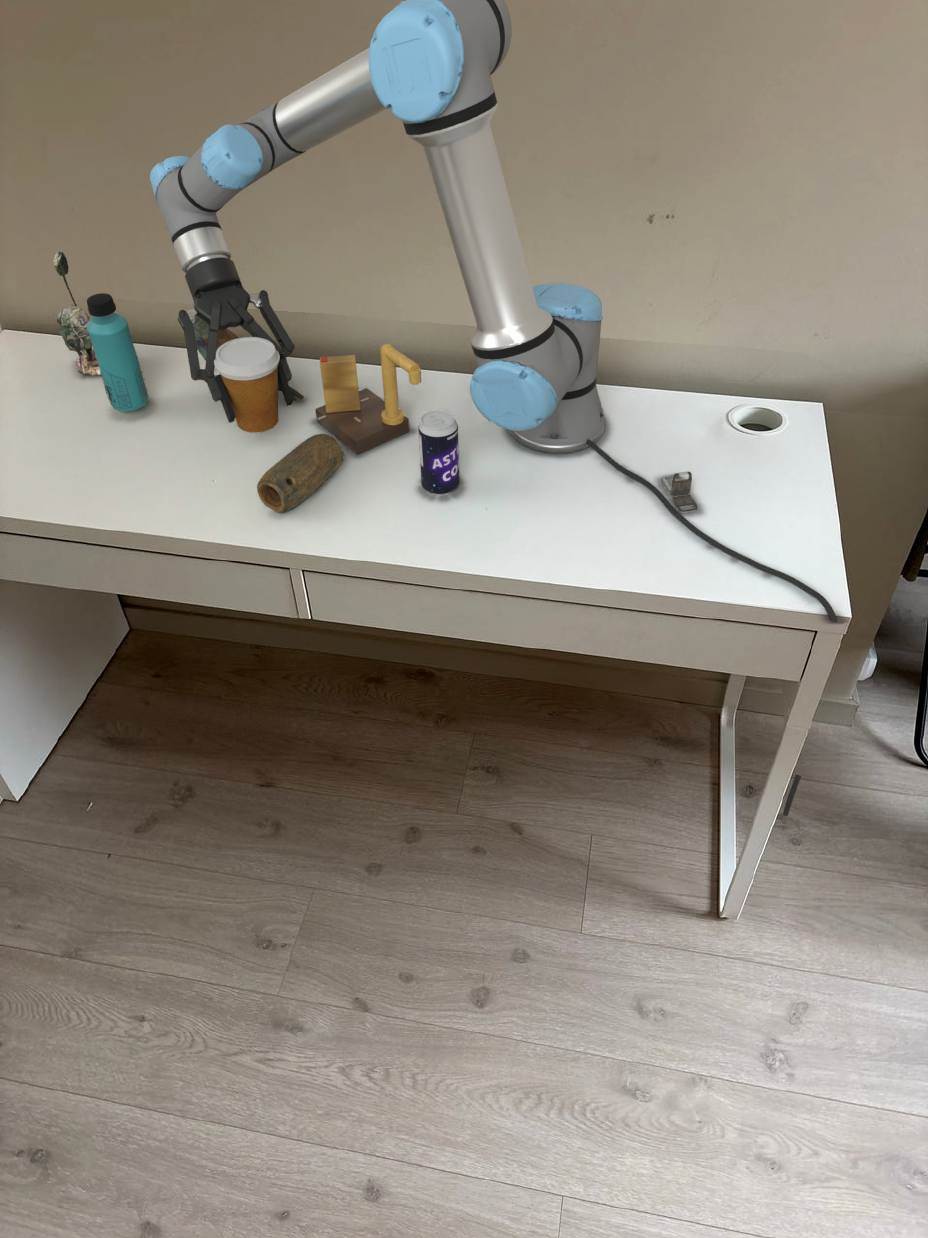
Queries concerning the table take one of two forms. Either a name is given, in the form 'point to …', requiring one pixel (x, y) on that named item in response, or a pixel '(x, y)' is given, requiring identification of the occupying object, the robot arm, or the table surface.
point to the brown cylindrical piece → (300, 472)
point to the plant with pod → (75, 326)
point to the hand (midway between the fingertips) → (261, 411)
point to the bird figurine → (223, 337)
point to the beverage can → (439, 452)
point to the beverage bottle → (115, 354)
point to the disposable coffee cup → (250, 381)
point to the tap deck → (361, 424)
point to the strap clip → (680, 491)
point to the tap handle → (340, 383)
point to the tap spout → (395, 382)
